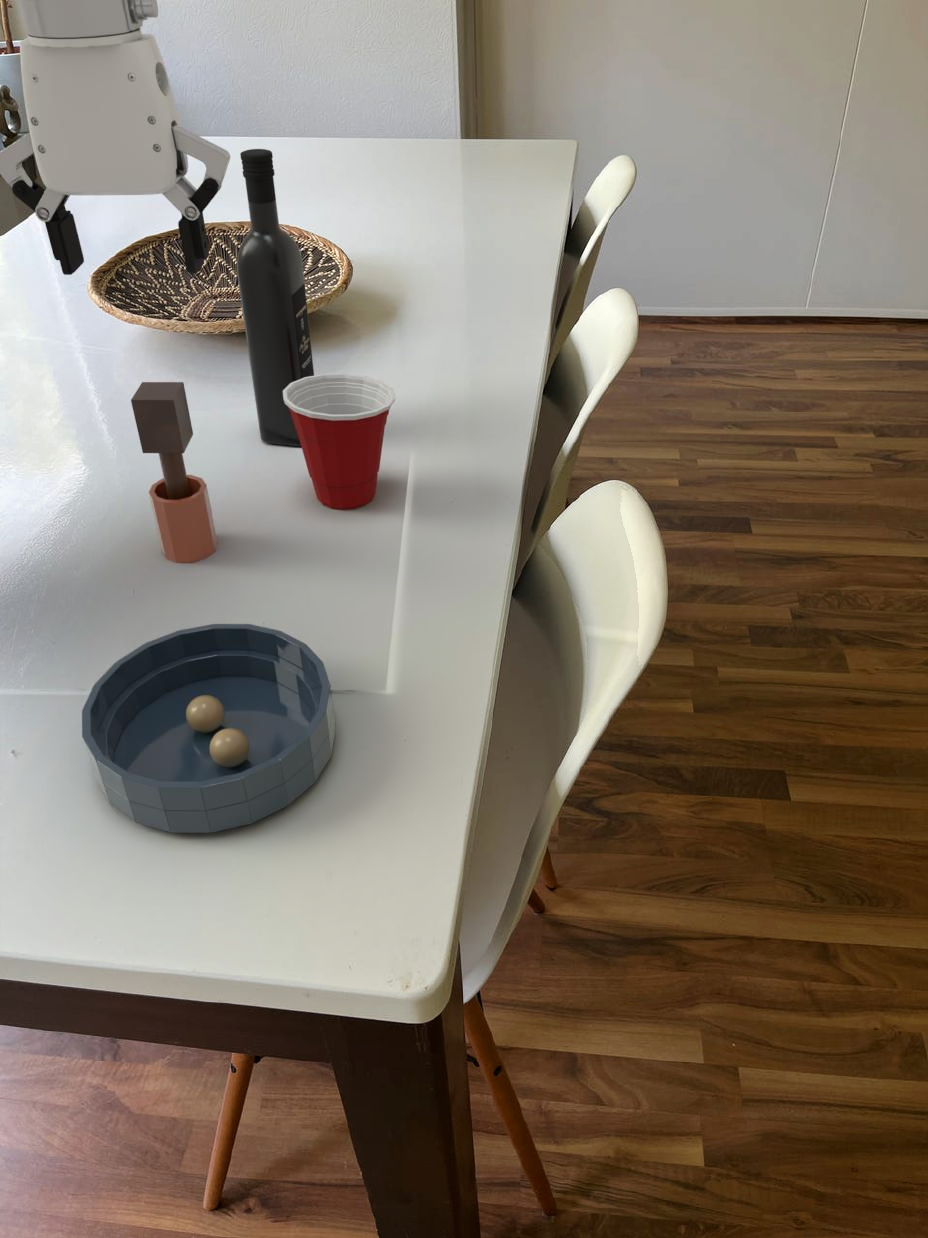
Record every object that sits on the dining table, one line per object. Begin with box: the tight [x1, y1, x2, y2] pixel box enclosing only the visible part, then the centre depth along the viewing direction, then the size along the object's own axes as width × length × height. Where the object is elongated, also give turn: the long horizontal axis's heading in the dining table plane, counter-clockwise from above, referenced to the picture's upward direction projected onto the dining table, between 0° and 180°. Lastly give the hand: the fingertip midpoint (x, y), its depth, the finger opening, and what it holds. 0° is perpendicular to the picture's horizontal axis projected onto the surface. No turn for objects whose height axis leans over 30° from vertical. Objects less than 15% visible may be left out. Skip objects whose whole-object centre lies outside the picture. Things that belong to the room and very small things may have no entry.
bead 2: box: [210, 728, 250, 768], centre depth 71 cm, size 3×3×3 cm
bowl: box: [81, 623, 336, 834], centre depth 72 cm, size 17×17×5 cm
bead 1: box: [186, 695, 225, 733], centre depth 73 cm, size 3×3×3 cm
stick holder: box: [148, 474, 218, 564], centre depth 92 cm, size 5×5×7 cm
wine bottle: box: [236, 148, 315, 447], centre depth 104 cm, size 6×6×30 cm
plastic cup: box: [283, 373, 397, 511], centre depth 98 cm, size 11×11×12 cm
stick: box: [130, 381, 194, 500], centre depth 89 cm, size 4×4×16 cm
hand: (135, 268), depth 78 cm, fingers open, 9 cm apart
